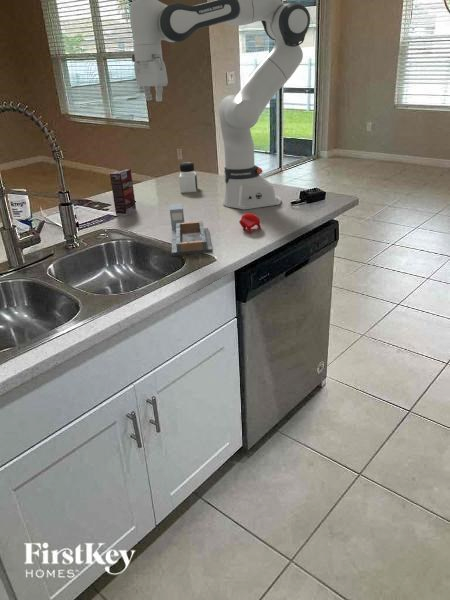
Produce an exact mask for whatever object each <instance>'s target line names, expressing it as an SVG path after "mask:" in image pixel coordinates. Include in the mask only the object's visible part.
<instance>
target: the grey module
mask: <svg viewBox="0 0 450 600" xmlns="http://www.w3.org/2000/svg"><path fill="white" fill-rule="evenodd" d="M183 205H184V204H183V203H182V202H181V203H172V204H169V214H170V215H169V216H170V224H171V231H176V223H186V222H185V214H184V206H183Z"/></svg>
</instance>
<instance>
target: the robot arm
mask: <svg viewBox="0 0 450 600" xmlns="http://www.w3.org/2000/svg"><path fill="white" fill-rule="evenodd" d="M129 17H130V18H129V19H130V25H131V26H130V28H131V29H130V30H131V33H132V34H133V53H132V54H131V61H132V63H134V64H133V68H134V74H135V81H136V82H137V85H138V86H139V87H140V86H141V87H142V90H143V92H144V95H145V100H146V101H152V100H153V94H152V93H151V87H154V90H155V101H156V102H162V101H163V91H164V87H167V86H168V82H169V80H168V73H167V69H166V68H167V67H166V63H165V61H164V60H163V50H162V49H163V48H162V41H166V42H169V43H175V42H176V43H177V42H183V41H186V40H187V39H189V37H190V36H192V35H193V33H194V32H196V31H198V30H201V29H203V28H206V27H207V28H208V27H211V26H215V25H218V24H225V25H228V26H230V27H238V26H246V25H249V24H254V23H257V22H261V23H262V24H261V25H262V26H263V29H264V32H265V35H266V36H267V37H268V38H270V39H271V40H272V41H275V42H274V45H273V47H272V49H271V51H270V52H268V54H267V55H266V56H265V57H264V59H262V60H261V61H260V63H259V64H258V65H257V66H256V67H255V69H254V70H252V72H251V73H250V74H249V75H248V77H247V79H246V81H245V83H244V84H243V86H242V87H241V89H240V90H239V92H238V93H237V94H229V95H227V96H226V97H224V98H222V100H221V101H220V102H219V105H218V110H217V111H218V116H219V123H220V129H221V133H222V134H221V135H222V140H223V141H222V142H223V145H224V146H223V147H224V163H225V164H224V165H225V166H224V170H223V171H224V172H223V173H224V174H223V176H224V182H225V190H224V191H225V193H224V199H223V206H226V207H227V208H232V209H233V208H234V209H240V210H251V209H256V208H257V209H258V208H259V209H260V208H263V207H272V206H278V205H280V204H281V203H282V198H281V197H280V196H279V195H277V194H276V192H275V187H274V186H273V184H272V183H271V182H270V181H268V179H266V178H264V177H263V176H261V175H262V173H263V169H262V167H259V166H257V165H255V143H254V140H253V136H252V132H251V131H252V130H251V128H253V127H254V126H256V125H257V123H258V122H259V118H260V116H261V115H262V113H263V112H264V110H265V109H266V107H267V106H268V104H269V102H270V101H271V100H272V99H273V98H274V97H275V95H276V94H277V92H279V90H280V89H282V88H283V87H284V85H285V84H286V83H287V82H288V80H289V79H290V78H291V77H292V76H293V74H294V73H295V72H296V70H297V69H298V67H299V66H300V64H301V63H302V60H303V59H304V55H303V54H304V53H303V49H302V48H301V46H300V45H301V44H303V43H304V40H305V38H306V34H307V32H308V30H309V28H310V24H311V15H310V12H309V10H308V9H307V7H306V6H304V5H303V4H301V3H298V2H289V3H284V2H283V1H282V0H212V1H208V2H203V3H199V4H195V5H187V4H184V3H179V2H174V3H170V4H169V5H167V4H165V3H163V2H161V1H160V0H133V1H132V2H130V5H129Z"/></svg>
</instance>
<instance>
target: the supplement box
mask: <svg viewBox="0 0 450 600" xmlns="http://www.w3.org/2000/svg"><path fill="white" fill-rule="evenodd" d="M109 177H110V184H111V190H112V198H113V203H114V210H115V211H114V212H115V216H119V217H121V216H122V217H124V216H126V217H127V216H128V215H130V214H131V213H133V212H134V211H137V205H136V199H135V192H134V191H135V190H134V185H133V184H134V183H133V177H132V169H129V168H128V169H127V168H120V169H118V170H116V171H114V172H112V173H109Z"/></svg>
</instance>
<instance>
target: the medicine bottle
mask: <svg viewBox="0 0 450 600" xmlns="http://www.w3.org/2000/svg"><path fill="white" fill-rule="evenodd" d="M179 171H180V174H179V175H178V182H179V184H178V185H179V192H180V194H183V193H197V191H198V177H197V176H198V175H197V172H195V165H194V163H193V162H191V161H190V162H189V161H188V162H187V161H186V162H182V163H180V164H179Z"/></svg>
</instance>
